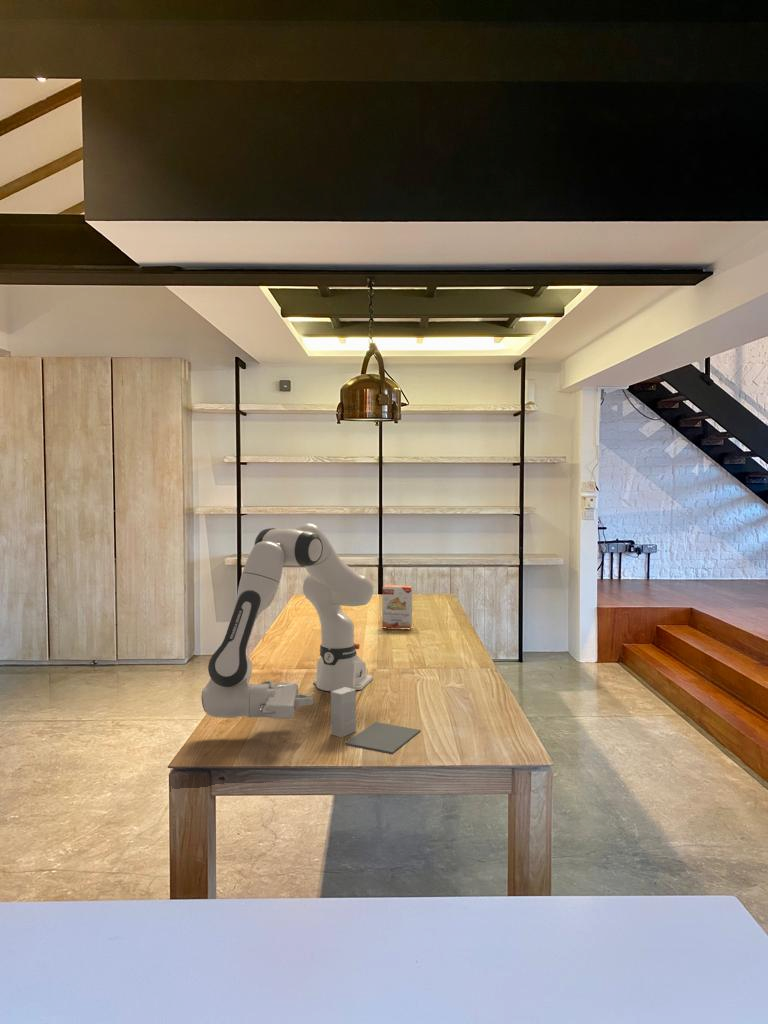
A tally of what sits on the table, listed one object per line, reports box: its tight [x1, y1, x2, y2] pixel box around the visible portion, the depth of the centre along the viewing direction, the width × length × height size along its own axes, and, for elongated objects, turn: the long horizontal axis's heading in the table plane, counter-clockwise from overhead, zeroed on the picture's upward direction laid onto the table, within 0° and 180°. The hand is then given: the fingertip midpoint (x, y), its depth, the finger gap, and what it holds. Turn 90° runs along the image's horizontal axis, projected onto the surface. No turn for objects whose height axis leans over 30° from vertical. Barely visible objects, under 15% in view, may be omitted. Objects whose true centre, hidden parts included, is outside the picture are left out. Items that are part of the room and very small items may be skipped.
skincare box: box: [330, 687, 357, 738], centre depth 187 cm, size 6×4×12 cm
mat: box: [344, 721, 421, 754], centre depth 184 cm, size 18×14×1 cm
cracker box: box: [381, 584, 413, 629], centre depth 329 cm, size 14×6×21 cm, turn 81°
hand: (312, 699), depth 187 cm, fingers closed
